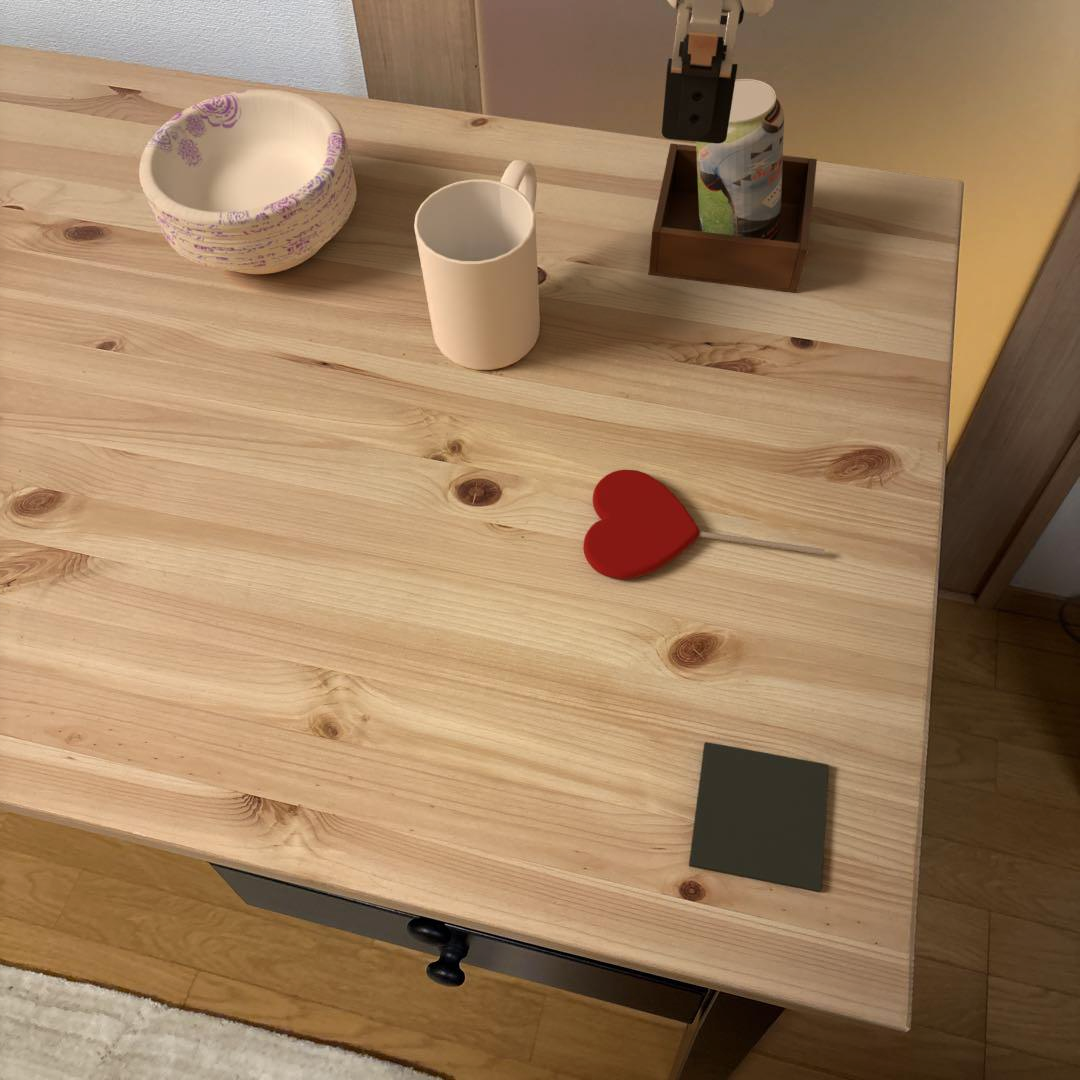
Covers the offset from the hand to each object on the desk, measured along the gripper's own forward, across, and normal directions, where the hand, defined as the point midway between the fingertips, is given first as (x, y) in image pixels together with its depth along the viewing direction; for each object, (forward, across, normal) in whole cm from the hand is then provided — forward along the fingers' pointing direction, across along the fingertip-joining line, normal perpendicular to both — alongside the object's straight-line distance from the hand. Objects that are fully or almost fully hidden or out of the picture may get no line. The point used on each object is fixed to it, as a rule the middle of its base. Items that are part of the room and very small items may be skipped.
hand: (703, 76), depth 52 cm
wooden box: (+23, +13, -3) cm, 27 cm away
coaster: (+23, -31, -9) cm, 40 cm away
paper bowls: (+23, +8, +33) cm, 41 cm away
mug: (+23, +3, +13) cm, 27 cm away
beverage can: (+23, +13, -3) cm, 26 cm away
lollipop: (+23, -14, -4) cm, 27 cm away
